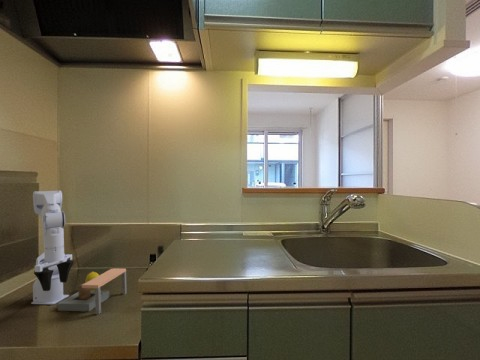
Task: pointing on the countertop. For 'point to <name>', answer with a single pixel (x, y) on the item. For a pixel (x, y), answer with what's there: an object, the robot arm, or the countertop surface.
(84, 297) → the peg
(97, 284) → the orange bridge
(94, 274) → the lemon
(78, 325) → the countertop surface
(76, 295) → the socket
